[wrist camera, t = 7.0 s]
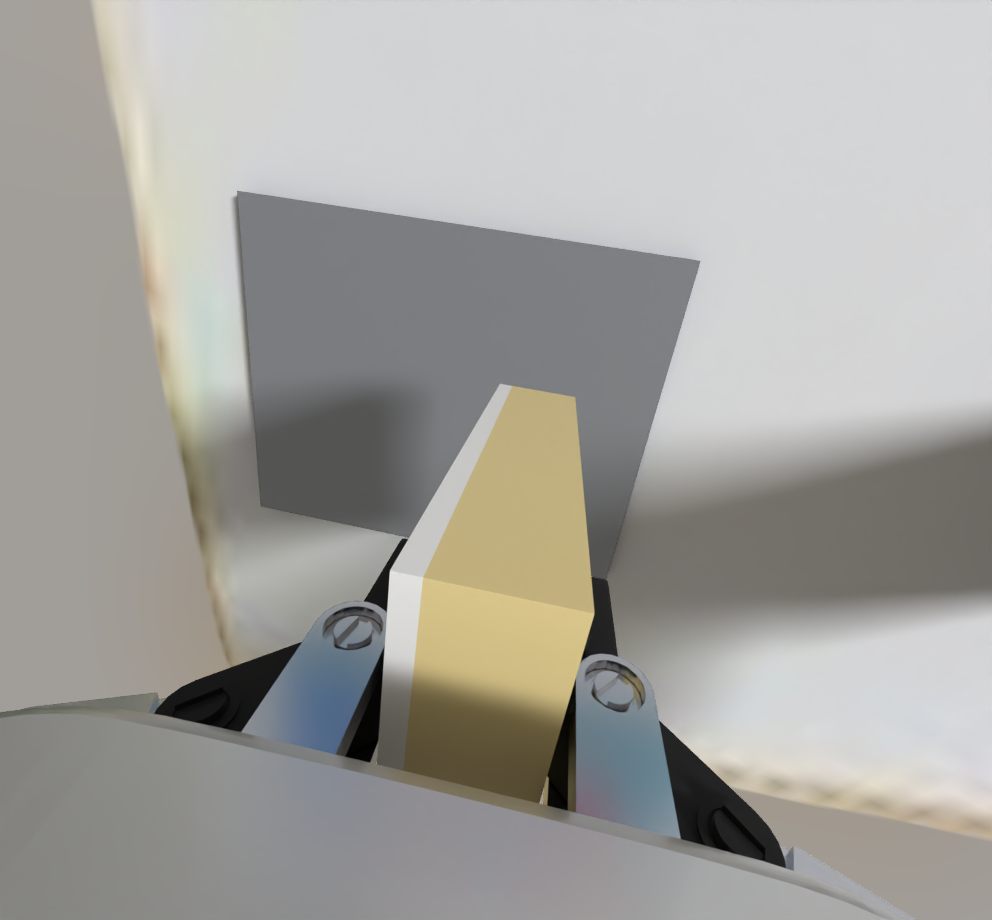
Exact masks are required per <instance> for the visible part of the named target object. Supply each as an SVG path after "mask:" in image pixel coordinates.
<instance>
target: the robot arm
mask: <svg viewBox="0 0 992 920" xmlns="http://www.w3.org/2000/svg"><path fill="white" fill-rule="evenodd" d="M407 541H408V539H402V540H401V541H400V543H399V544H398V546H397V547H396V549H395V551H394V552H393V554H392V556H391V557H390V559H389V561H388V562H387V564H386V566H385V567H384V569H383V571H382V572H381V574H380V576H379V577H378V579H377V580H376V582H375V584H374V585H373V587H372V589H371V590H370V592H369V594H368V595H367V597H366V599H365V600H364V602H362V601H353V602H345V603H342V604H339V605H336V606H333V607H332V608H330V609H329V610H327V611H325V612H324V613H323V614H322V615H321V616H320V617H319V618H318V620H317V621H316V622H315V624H314V625H313V627H312V628H311V630H310V631H309V633H308V634H307V636H306V637H305V639H304V640H303V642H301V643H298V644H295V645H292V646H289V647H287V648H284V649H281V650H278V651H276V652H273V653H270V654H267V655H265V656H262V657H259V658H256V659H253V660H251V661H248V662H245V663H242V664H240V665H237V666H234V667H231V668H229V669H226V670H223V671H220V672H217V673H215V674H212V675H209V676H206V677H203V678H201V679H198V680H195V681H194V682H191V683H189V684H187V685H185V686H183V687H181V688H179V689H178V690H177V691H175V692H174V693H172V694H171V695H170V696H168V697H167V698H164V699H158V694H157V693H149V694H140V695H132V696H123V697H114V698H105V699H97V700H88V701H79V702H70V703H61V704H53V705H44V706H36V707H29V708H25V709H21V710H15V711H6V712H0V920H916V919H914V918H913V917H911V916H909V915H908V914H906V913H904V912H903V911H901V910H900V909H898V908H896V907H895V906H893V905H891V904H889V903H888V902H886V901H885V900H883V899H882V898H880V897H878V896H877V895H875V894H873V893H872V892H870V891H868V890H867V889H865V888H863V887H862V886H860V885H859V884H857V883H855V882H854V881H852V880H850V879H849V878H847V877H845V876H844V875H842V874H841V873H839V872H837V871H836V870H834V869H832V868H831V867H829V866H827V865H826V864H824V863H823V862H821V861H819V860H817V859H816V858H814V857H813V856H811V855H809V854H808V853H806V852H804V851H803V850H801V849H800V848H798V847H796V846H795V845H793V847H792V848H791V850H790V851H789V850H787V849H786V848H784V847H782V846H781V845H779V843H778V841H777V839H776V838H775V836H774V835H773V833H772V831H771V830H770V828H769V826H768V825H767V824H766V823H765V822H764V821H763V820H762V819H761V818H760V816H759V815H758V814H757V813H756V812H755V811H754V810H753V809H752V808H751V807H750V806H749V805H748V804H747V803H746V802H744V800H743V799H741V798H740V797H739V796H738V795H737V794H736V793H735V792H734V791H733V790H732V789H731V788H730V787H729V786H728V785H727V784H726V783H725V782H724V781H722V780H721V779H720V778H719V777H718V776H717V775H716V774H715V773H714V772H713V771H712V770H711V769H710V768H709V767H708V766H707V765H706V764H705V763H704V762H702V761H701V760H700V759H699V758H698V757H697V756H696V755H695V754H694V753H693V752H692V751H691V750H690V749H689V748H688V747H687V746H686V745H685V744H683V743H682V742H681V741H680V740H679V739H678V738H677V737H676V736H675V735H674V734H673V733H672V732H671V731H670V730H669V729H668V728H667V727H666V726H664V725H663V724H662V723H661V722H660V721H659V718H658V713H657V707H656V702H655V697H654V693H653V690H652V687H651V684H650V682H649V681H648V680H647V678H646V677H645V675H644V674H643V673H642V672H641V671H640V670H639V669H638V668H637V667H635V666H634V665H633V664H631V663H629V662H628V661H626V660H624V659H622V658H620V657H618V654H617V647H616V639H615V632H614V624H613V616H612V609H611V601H610V594H609V586H608V582H607V580H605V579H600V578H595V577H591V579H592V591H593V602H594V613H595V614H594V617H593V621H592V624H591V628H590V631H589V634H588V638H587V641H586V645H585V648H584V652H583V655H582V658H581V662H580V665H579V669H578V672H577V675H576V679H575V682H574V686H573V689H572V693H571V696H570V699H569V703H568V706H567V710H566V713H565V716H564V720H563V723H562V727H561V730H560V733H559V737H558V740H557V744H556V747H555V751H554V754H553V757H552V761H551V764H550V768H549V771H548V774H547V778H546V781H545V785H544V793H543V805H542V804H538V803H534V802H530V801H526V800H522V799H518V798H514V797H510V796H506V795H501V794H497V793H493V792H489V791H485V790H481V789H477V788H473V787H469V786H464V785H460V784H456V783H452V782H448V781H444V780H440V779H436V778H431V777H427V776H423V775H419V774H415V773H411V772H407V771H402V770H398V769H394V768H390V767H386V766H382V765H378V764H376V762H377V754H378V739H379V724H380V709H381V695H382V680H383V665H384V650H385V635H386V621H387V606H388V591H389V576H390V570H391V568H392V566H393V564H394V563H395V561H396V559H397V558H398V556H399V554H400V553H401V551H402V549H403V547H404V546H405V544H406V542H407Z"/></svg>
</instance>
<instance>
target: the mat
mask: <svg viewBox="0 0 992 920" xmlns="http://www.w3.org/2000/svg"><path fill="white" fill-rule="evenodd" d="M237 196H238V209H239V222H240V236H241V249H242V262H243V275H244V289H245V302H246V315H247V328H248V342H249V355H250V368H251V381H252V395H253V408H254V421H255V434H256V448H257V461H258V474H259V488H260V501H261V506H263V507H267V508H272V509H277V510H281V511H286V512H291V513H296V514H300V515H305V516H310V517H314V518H319V519H324V520H329V521H333V522H338V523H343V524H348V525H352V526H357V527H362V528H366V529H371V530H376V531H381V532H385V533H390V534H395V535H399V536H404V537H410V536H411V534H412V532H413V531H414V529H415V527H416V525H417V524H418V522H419V520H420V519H421V517H422V515H423V514H424V512H425V510H426V508H427V507H428V505H429V503H430V502H431V500H432V498H433V497H434V495H435V493H436V492H437V490H438V488H439V486H440V485H441V483H442V481H443V480H444V478H445V476H446V475H447V473H448V471H449V469H450V468H451V466H452V464H453V463H454V461H455V459H456V458H457V456H458V454H459V452H460V451H461V449H462V447H463V446H464V444H465V442H466V441H467V439H468V437H469V436H470V434H471V432H472V430H473V429H474V427H475V425H476V424H477V422H478V420H479V419H480V417H481V415H482V413H483V412H484V410H485V408H486V407H487V405H488V403H489V402H490V400H491V398H492V396H493V395H494V393H495V391H496V390H497V388H498V386H499V385H500V384H504V385H510V386H516V387H521V388H527V389H532V390H538V391H544V392H549V393H555V394H561V395H566V396H572V397H575V401H576V412H577V423H578V434H579V445H580V456H581V468H582V479H583V490H584V501H585V512H586V524H587V535H588V546H589V557H590V568H591V576H593V577H598V578H602V579H606V577H607V574H608V570H609V567H610V564H611V560H612V557H613V554H614V550H615V547H616V543H617V540H618V537H619V533H620V530H621V527H622V523H623V520H624V517H625V513H626V510H627V506H628V503H629V500H630V496H631V493H632V490H633V486H634V483H635V479H636V476H637V473H638V469H639V466H640V463H641V459H642V456H643V453H644V449H645V446H646V442H647V439H648V436H649V432H650V429H651V426H652V422H653V419H654V416H655V412H656V409H657V405H658V402H659V399H660V395H661V392H662V389H663V385H664V382H665V379H666V375H667V372H668V368H669V365H670V362H671V358H672V355H673V352H674V348H675V345H676V341H677V338H678V335H679V331H680V328H681V325H682V321H683V318H684V315H685V311H686V308H687V304H688V301H689V298H690V294H691V291H692V288H693V284H694V281H695V278H696V274H697V271H698V267H699V264H700V261H697V260H690V259H684V258H677V257H671V256H664V255H657V254H651V253H644V252H638V251H631V250H624V249H618V248H611V247H605V246H598V245H591V244H585V243H578V242H572V241H565V240H558V239H552V238H545V237H539V236H532V235H525V234H519V233H512V232H506V231H499V230H492V229H486V228H479V227H473V226H466V225H459V224H453V223H446V222H440V221H433V220H426V219H420V218H413V217H406V216H400V215H393V214H387V213H380V212H373V211H367V210H360V209H354V208H347V207H340V206H334V205H327V204H321V203H314V202H307V201H301V200H294V199H288V198H281V197H274V196H268V195H261V194H255V193H248V192H241V191H237Z"/></svg>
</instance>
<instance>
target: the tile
mask: <svg viewBox="0 0 992 920" xmlns="http://www.w3.org/2000/svg"><path fill="white" fill-rule="evenodd" d="M594 614H595V613H594V602H593V591H592V579H591V568H590V557H589V546H588V535H587V524H586V512H585V501H584V490H583V479H582V468H581V456H580V445H579V434H578V423H577V412H576V401H575V397H572V396H566V395H561V394H555V393H549V392H544V391H538V390H532V389H527V388H521V387H516V386H510V385H504V384H500V385H499V386H498V388H497V390H496V391H495V393H494V395H493V396H492V398H491V400H490V402H489V403H488V405H487V407H486V408H485V410H484V412H483V413H482V415H481V417H480V419H479V420H478V422H477V424H476V425H475V427H474V429H473V430H472V432H471V434H470V436H469V437H468V439H467V441H466V442H465V444H464V446H463V447H462V449H461V451H460V452H459V454H458V456H457V458H456V459H455V461H454V463H453V464H452V466H451V468H450V469H449V471H448V473H447V475H446V476H445V478H444V480H443V481H442V483H441V485H440V486H439V488H438V490H437V492H436V493H435V495H434V497H433V498H432V500H431V502H430V503H429V505H428V507H427V508H426V510H425V512H424V514H423V515H422V517H421V519H420V520H419V522H418V524H417V525H416V527H415V529H414V531H413V532H412V534H411V536H410V537H409V539H408V541H407V542H406V544H405V546H404V547H403V549H402V551H401V553H400V554H399V556H398V558H397V559H396V561H395V563H394V564H393V566H392V568H391V570H390V576H389V591H388V606H387V621H386V635H385V650H384V665H383V680H382V695H381V709H380V724H379V739H378V754H377V764H378V765H382V766H386V767H390V768H394V769H398V770H402V771H407V772H411V773H415V774H419V775H423V776H427V777H431V778H436V779H440V780H444V781H448V782H452V783H456V784H460V785H464V786H469V787H473V788H477V789H481V790H485V791H489V792H493V793H497V794H501V795H506V796H510V797H514V798H518V799H522V800H526V801H530V802H534V803H538V804H539V801H540V798H541V795H542V791H543V788H544V785H545V781H546V778H547V774H548V771H549V768H550V764H551V761H552V757H553V754H554V751H555V747H556V744H557V740H558V737H559V733H560V730H561V727H562V723H563V720H564V716H565V713H566V710H567V706H568V703H569V699H570V696H571V693H572V689H573V686H574V682H575V679H576V675H577V672H578V669H579V665H580V662H581V658H582V655H583V652H584V648H585V645H586V641H587V638H588V634H589V631H590V628H591V624H592V621H593V617H594Z"/></svg>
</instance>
